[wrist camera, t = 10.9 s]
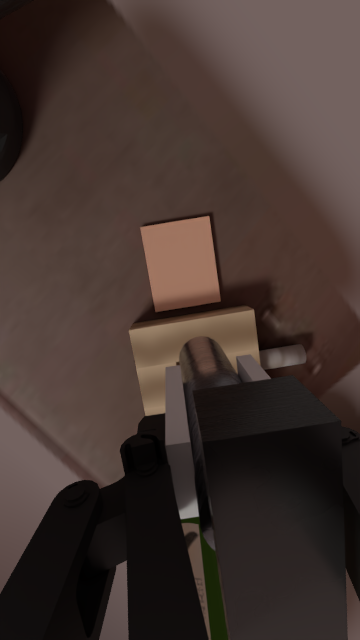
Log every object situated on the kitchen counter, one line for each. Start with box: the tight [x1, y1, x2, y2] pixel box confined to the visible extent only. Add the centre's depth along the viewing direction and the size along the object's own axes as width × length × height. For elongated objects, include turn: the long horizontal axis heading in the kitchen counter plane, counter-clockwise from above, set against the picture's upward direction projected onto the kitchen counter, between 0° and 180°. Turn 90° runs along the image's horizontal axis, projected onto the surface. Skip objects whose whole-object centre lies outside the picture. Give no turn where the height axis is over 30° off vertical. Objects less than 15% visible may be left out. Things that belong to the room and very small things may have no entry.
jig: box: [129, 305, 306, 416], centre depth 36 cm, size 14×20×4 cm
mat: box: [140, 216, 221, 312], centre depth 36 cm, size 10×8×1 cm
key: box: [179, 336, 348, 640], centre depth 13 cm, size 3×8×14 cm, turn 8°
